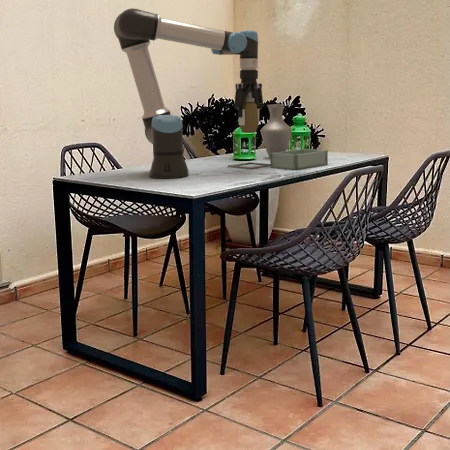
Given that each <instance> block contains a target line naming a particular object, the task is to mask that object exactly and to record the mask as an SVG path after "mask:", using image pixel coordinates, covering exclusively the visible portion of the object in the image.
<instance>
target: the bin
mask: <svg viewBox="0 0 450 450" xmlns="http://www.w3.org/2000/svg"><path fill="white" fill-rule="evenodd" d="M328 153H329V152H328V150H327V149H326V150H322V149H309V148H307V149H306V148H300V149H293V150H292V149H291V150H287V151H284V152H277V153H270V158H269V159H270V161H269V162H270V164H271V166H270V168H271V169H279V170H281V169H282V170H289V171H291V170H292V171H299V170H303V169H305V170H306V169H309V168H315V167H321V166H326V165H327V166H328V160H329V159H328V158H329V157H328Z"/></svg>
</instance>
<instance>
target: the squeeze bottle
mask: <svg viewBox="0 0 450 450" xmlns="http://www.w3.org/2000/svg"><path fill="white" fill-rule="evenodd" d="M253 102H255V98H252V95H251V92H249V93H248V94H247V97H246V100H245V104H244V107H243V109H244V110H245V125H239V128H240V130H241V133H244V134H253V133H256V132H257V130H258V126H259V124H260V122H259V123H258V113H257V104H256V103H253Z"/></svg>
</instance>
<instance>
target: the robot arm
mask: <svg viewBox="0 0 450 450" xmlns="http://www.w3.org/2000/svg"><path fill="white" fill-rule="evenodd" d="M113 24H114V25H113V31H114V32H113V33H114V34H115V35H114V36H116V38H117V39H118V43H119V44H120V45H119V46H120V49H121V51H122V52H124V53H125V54H126V56H127V59H128V62H129V66H130V69H131V72H132V75H133V80H134V83H135V85H136V86H135V87H136V88H137V92H138V96H139V100H140V103H141V106H142V109H143V115H142V117H141V118H142V123H143V125H144V135H145V137H146V139H147V141H148V142H149V143H151V144H152V151H153V152H152V154H153V159H152V161H151V162H152V163H151V167H150V169H149V177H150V178H153V179H178V178H179V179H180V178H185V177H188V176H189V175H190V174H189V168H188V166H187V161H186V160H185V157H184V139H183V127H184V126H183V120H182V118H181V117H180V116H178V115H173V114H171V110H170V109H168V108H167V107H166V106H165V103H164V99H163V97H162V93H161V89H160V86H159V82H158V80H157V75H156V73H155V68H154V64H153V62H152V59H151V58H152V57H151V54H150V51H149V46H150V44H151V41H153V42H154V41H156V40H157V39H159V40H163V41H168V42H176V43H180V44H186V45H191V46H196V47H200V48H207V49H211V53H212V55H219V56H225V55H226V56H227V55H229V56H230V55H231V56H232V55H236V56H238V55H239V69H240V70H239V79H240V80H241V81H240V83H235V95H234V101H233V102H234V103H233V107H234V108H235V109H236V110H237V117H238V126H240V125H245V110H244V109H243V107H244V104H245V100H246V97H247V94H248V93H249V92H251V95H252V98H255V102H253V103H256V104H257V113H258V123H259V124H260V115H261V114H260V112H261V111H260V109H262V108H263V107H264V99H263V90H262V88H263V84H262V83H258V81H257V79H258V78H259V70H258V68H259V58H258V57H259V35H258V32H257V31H255V30H241V31H227V30H222V29H219V28H218V29H217V28H213V27H207V26H202V25H199V24H193V23H187V22H182V21H178V20H173V19H168V18H165V17H164V18H162V17H160V15H159V14H158V13H153V12H149V11H145V10H142V9H138V8H134V7H133V8H128V9H125V10H123V11H122V12H121V13H120V14H118V15H117V17H116V18H115V20H114V23H113Z"/></svg>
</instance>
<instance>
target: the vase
mask: <svg viewBox="0 0 450 450" xmlns="http://www.w3.org/2000/svg"><path fill="white" fill-rule="evenodd" d="M285 105H286V104H279V103H277V104H266V106H267V108H268V111H269V115H270V116H269V120H268V122H267V123H265V124H264V126H262V128H261V129H260V135H261V138H262V142H263V144H264V148H265V150H266V151H265V152H266V153H267V155H268V158H269V159H270V153H277V152H284V151H288V148H289V144H290V141H291V137H292V133H293V129H292V127H291V126H289V124H287V123H286V122H285V121H284V119H283V111H284V108H285Z"/></svg>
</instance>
